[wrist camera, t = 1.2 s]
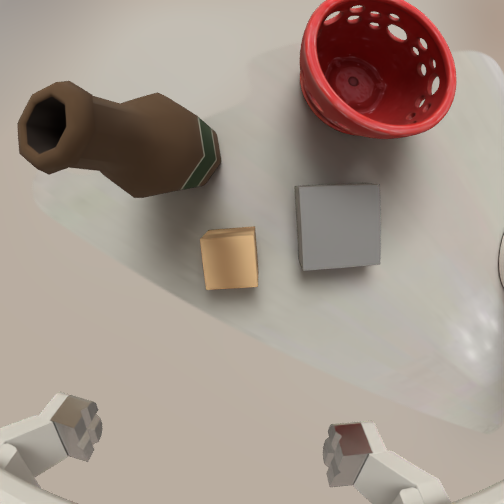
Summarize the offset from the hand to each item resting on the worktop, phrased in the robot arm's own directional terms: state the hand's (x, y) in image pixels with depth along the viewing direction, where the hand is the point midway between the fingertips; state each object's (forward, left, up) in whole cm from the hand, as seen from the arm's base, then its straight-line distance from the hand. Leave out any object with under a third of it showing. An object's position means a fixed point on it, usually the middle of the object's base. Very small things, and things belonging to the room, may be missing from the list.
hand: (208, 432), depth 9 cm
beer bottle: (+5, -11, -26) cm, 29 cm away
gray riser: (-10, -3, -26) cm, 28 cm away
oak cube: (+1, 0, -26) cm, 26 cm away
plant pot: (-13, -17, -26) cm, 34 cm away
